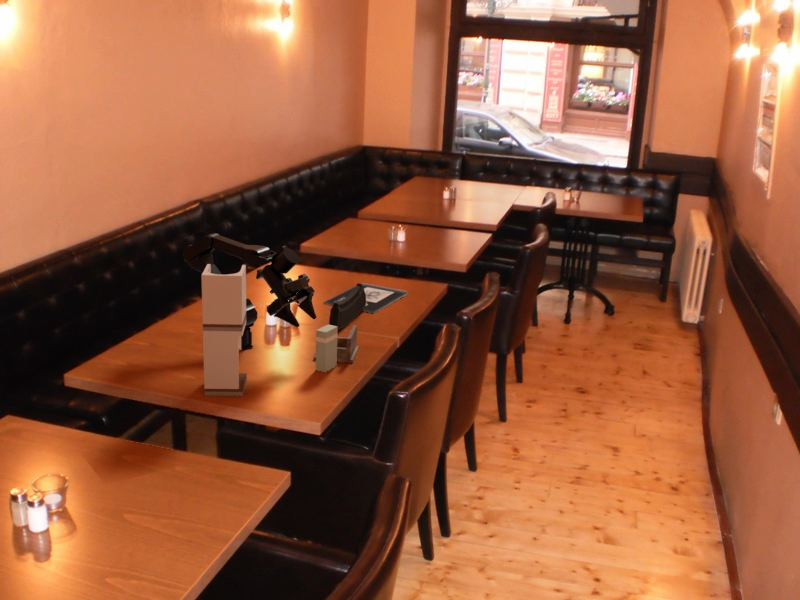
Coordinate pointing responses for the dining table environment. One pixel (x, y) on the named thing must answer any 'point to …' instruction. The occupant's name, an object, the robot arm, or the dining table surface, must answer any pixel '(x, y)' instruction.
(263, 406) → the dining table surface
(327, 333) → the book
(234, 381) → the beige rectangular tower
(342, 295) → the sketchbook
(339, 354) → the book rack
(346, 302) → the magazine
